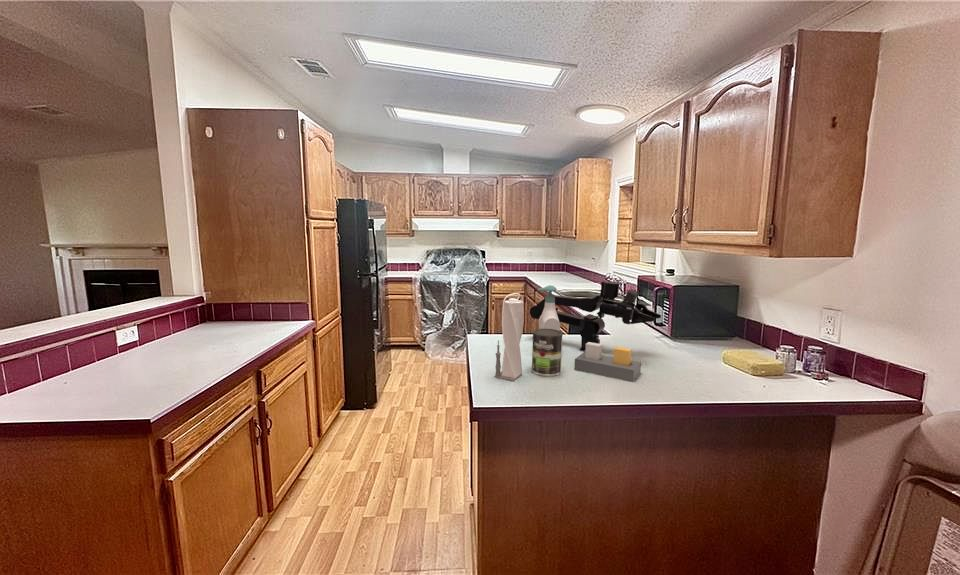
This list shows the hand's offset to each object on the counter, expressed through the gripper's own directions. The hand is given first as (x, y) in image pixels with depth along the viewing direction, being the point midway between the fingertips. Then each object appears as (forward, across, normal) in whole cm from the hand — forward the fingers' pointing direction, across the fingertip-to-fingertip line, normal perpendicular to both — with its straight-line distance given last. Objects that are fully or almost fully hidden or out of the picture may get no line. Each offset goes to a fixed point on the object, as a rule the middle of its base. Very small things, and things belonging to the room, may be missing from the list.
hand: (657, 318), depth 145 cm
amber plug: (-4, -19, +19) cm, 27 cm away
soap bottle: (-36, -13, +21) cm, 44 cm away
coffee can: (-26, -32, +22) cm, 46 cm away
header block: (-9, -19, +19) cm, 29 cm away
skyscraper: (-33, -43, +23) cm, 59 cm away
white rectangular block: (-14, -19, +20) cm, 31 cm away
